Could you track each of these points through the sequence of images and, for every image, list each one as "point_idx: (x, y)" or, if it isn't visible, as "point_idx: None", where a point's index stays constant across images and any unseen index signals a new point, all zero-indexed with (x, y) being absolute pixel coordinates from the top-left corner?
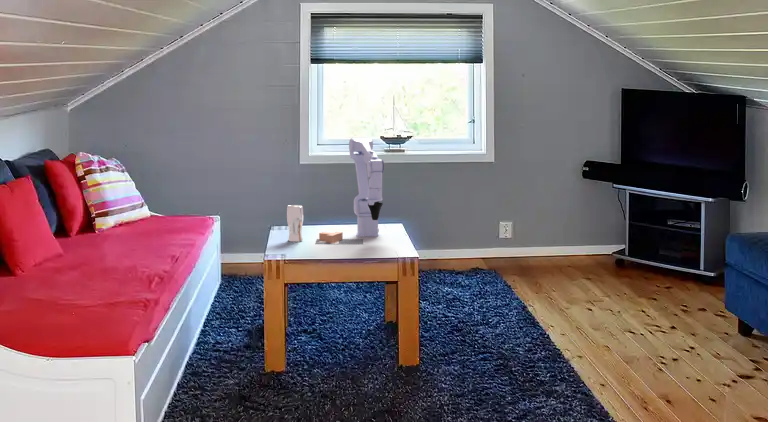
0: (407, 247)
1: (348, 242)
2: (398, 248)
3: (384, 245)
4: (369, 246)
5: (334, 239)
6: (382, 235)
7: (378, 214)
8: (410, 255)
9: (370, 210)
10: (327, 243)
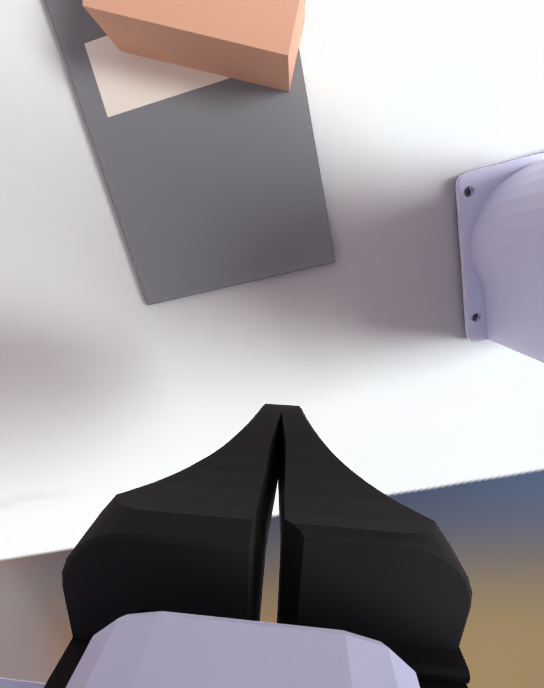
0: None
1: (177, 184)
2: None
3: (188, 422)
4: (131, 348)
5: (143, 44)
6: None
7: (270, 515)
8: (6, 554)
9: (205, 461)
10: (81, 13)
